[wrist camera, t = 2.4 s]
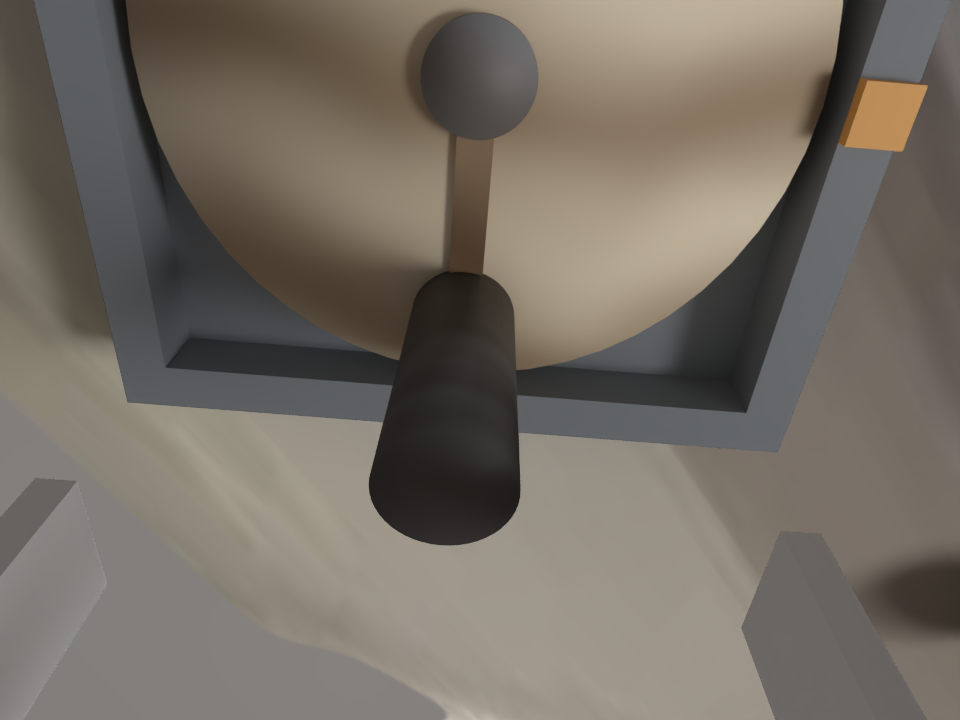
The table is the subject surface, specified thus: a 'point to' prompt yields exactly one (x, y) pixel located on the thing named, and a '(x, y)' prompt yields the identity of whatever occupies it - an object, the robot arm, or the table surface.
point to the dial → (480, 186)
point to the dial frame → (540, 391)
